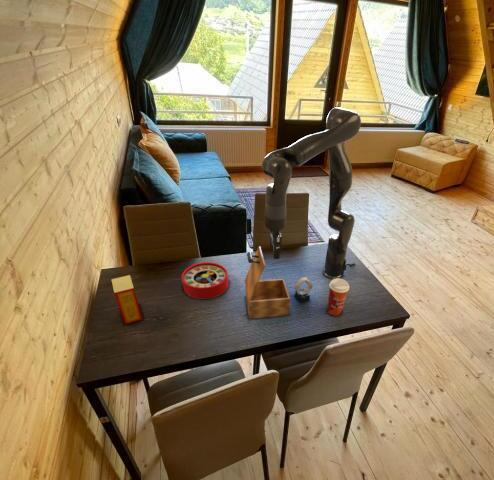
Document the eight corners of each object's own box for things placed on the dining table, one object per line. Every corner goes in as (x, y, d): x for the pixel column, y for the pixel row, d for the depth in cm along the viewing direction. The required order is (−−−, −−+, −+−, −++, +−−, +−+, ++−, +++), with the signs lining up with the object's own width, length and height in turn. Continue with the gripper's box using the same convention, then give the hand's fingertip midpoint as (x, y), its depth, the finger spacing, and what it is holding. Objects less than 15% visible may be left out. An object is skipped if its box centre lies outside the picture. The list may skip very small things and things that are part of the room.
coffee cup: (331, 319, 132) (337, 291, 123) (321, 307, 137) (325, 280, 128) (347, 314, 135) (354, 286, 126) (336, 302, 141) (342, 275, 132)
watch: (312, 299, 141) (315, 280, 135) (297, 304, 138) (299, 284, 131) (306, 292, 145) (309, 273, 138) (291, 296, 142) (293, 277, 135)
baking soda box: (121, 309, 128) (110, 278, 119) (138, 304, 131) (129, 273, 122) (125, 324, 122) (114, 292, 112) (142, 319, 125) (133, 287, 115)
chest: (282, 294, 143) (284, 278, 138) (289, 315, 132) (290, 298, 127) (245, 297, 140) (245, 281, 134) (249, 318, 129) (248, 302, 124)
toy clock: (213, 257, 153) (236, 277, 141) (214, 267, 156) (236, 287, 145) (173, 271, 141) (195, 294, 130) (175, 282, 145) (197, 305, 133)
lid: (260, 246, 125) (247, 243, 123) (265, 265, 115) (251, 262, 112) (246, 280, 134) (234, 278, 132) (249, 301, 123) (236, 299, 121)
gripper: (289, 222, 107) (287, 262, 117) (282, 205, 118) (280, 242, 128) (268, 223, 106) (267, 263, 116) (262, 206, 117) (262, 243, 127)
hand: (274, 252), depth 122 cm, fingers open, 8 cm apart
